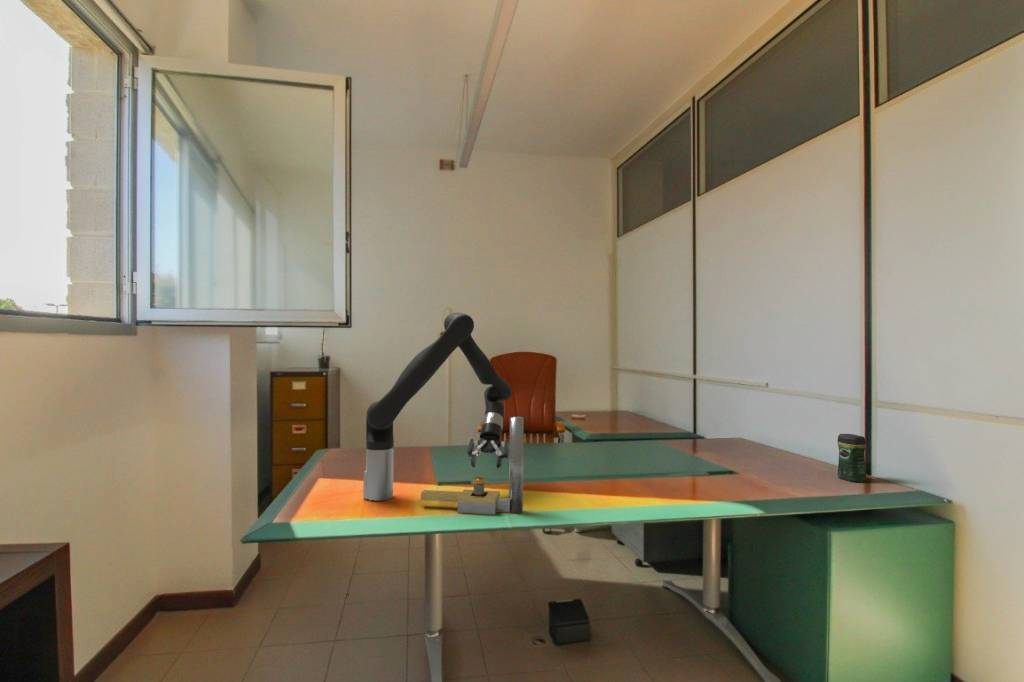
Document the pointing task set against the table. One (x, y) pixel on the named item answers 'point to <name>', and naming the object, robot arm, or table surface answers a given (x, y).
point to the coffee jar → (851, 457)
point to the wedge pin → (479, 486)
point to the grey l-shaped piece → (492, 498)
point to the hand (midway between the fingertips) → (485, 466)
